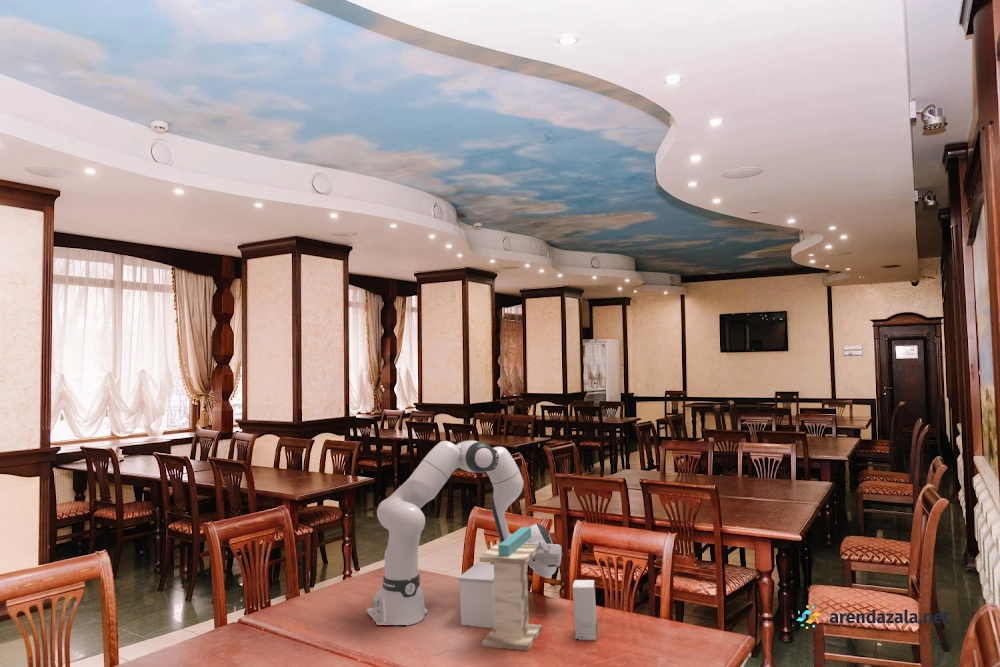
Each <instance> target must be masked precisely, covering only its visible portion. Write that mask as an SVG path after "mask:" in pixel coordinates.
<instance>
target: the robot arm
mask: <svg viewBox="0 0 1000 667" xmlns="http://www.w3.org/2000/svg"><path fill="white" fill-rule="evenodd" d="M457 469H459V470H462V471H466V472H468V473H477V474H482V473H483V474H484V473H486V474H487V476H488V478H489V481H490V482H491V484H492V488H493V494H492V496H491V497H490V506H491V511H492V515H493V518H494V519H493V520H494V522H495V526H496V531H497V534H498V538H499V541H500V543H502V542H503V541H504V540H506V539H507V538H508V537H509V536H511V535H512V534H513V533H511V532H510V530H509V527H508V523H507V518H506V516H505V515H506V514H505V513H506V511H507V509H508V508H509V507H510V505H512V504H513V503H514V502H515V501H516V500H517V498H518V497H519V496H520V495H521V493H522V491H523V489H524V485H525V483H524V479H523V476H522V473H521V471H520V468H519V467H518V464H517V463H516V461H515V459H514V458H513V456H512V455H511V453H510V452H509V450H508V449H507V448H506V447H503V446H494V447H492V446H491V445H490V444H488V443H485V442H483V441H477V440H474V439H473V440H472V439H471V440H462V441H459V442H457V443H453V442H452V441H449V440H442V441H440V442H439V443H437V444H436V445H434V447H433V448H431V450H430V451H428V453H427V454H426V455H425V457H424V458H423V459H422V460H421V462H420V463H419V464H418V465H417V467H416V468H415V469H414V471H413V472H412V474H411V475H410V476H409V478H407V479H406V481H405V482H403V483H402V484H401V485H400V486H399V487H398V488H397V489H396V490H395V491H394V492H393V493H392V494H391V495H390V496H389V497H387V498H385V499H384V500H382V501H381V502H380V503H379V504H378V507H377V508H376V509H377V510H376V516H377V519H378V521H379V522H380V525H381V526H382V527H383V528H385V529H386V530H388V541H387V546H386V549H385V551H384V575H383V576H382V577H383V578H382V586H381V588H380V589H379V590H378V591H377V592H376V593H375V594H374V596H373V599H372V600H371V607H369V608H367V609H366V612H367V611H368V613H369V614H370V616H371V617H372V618H373V619H374V621H375V622H376V624H379V625H380V624H390V625H406V626H411V625H414V624H415V625H416V624H417V623H419V622H421V621H423V620H424V619H425V616H426V615H425V614H429V610H428V608H426V606H425V598H424V597H425V596H424V590H423V588H422V587H421V586H420V584H421V577H420V573H419V545H420V539H421V534H422V532H423V530H424V529H425V526H426V517H425V514H424V513H423V511H422V510H421V509H422V508H423V507H424V506H425V505H426V504H427V503H428V502H430V501H432V500H434V499H435V498H436V496H437V495H438V494H439V492H440V490H442V488H443V486H445V484H446V482H447V481H448V480H449V479H450V477H451V475H452V474H453V473H454V472H455V471H456V470H457ZM529 527H531V538H530V539H528V540H527V541H526V542H525V543H524V544H523V545H538V546H539V551H538V552H537V553H536V554H535V555H534V556H533V557H532V558H531V559H530V560H529V561H528V562H527V566H529V567H530V569H532V570H533V571H534V573H536V574H537V575H538V576H540V577H542V578H549V577H551V576H553V575H554V574H555V573H556V571H557V567H559V566H561V563H562V553H563V552H562V550H563V548H562V546H561V545H560V544H556V543H554V542H553V539H552V537H551V534H550V533H549V530H547V528H546V527H545V526H544V525H542V524H540V523H534V524H533V525H529ZM372 607H374V608H372ZM370 616H369V617H370ZM374 621H373V622H374ZM376 624H375V625H376Z"/></svg>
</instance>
